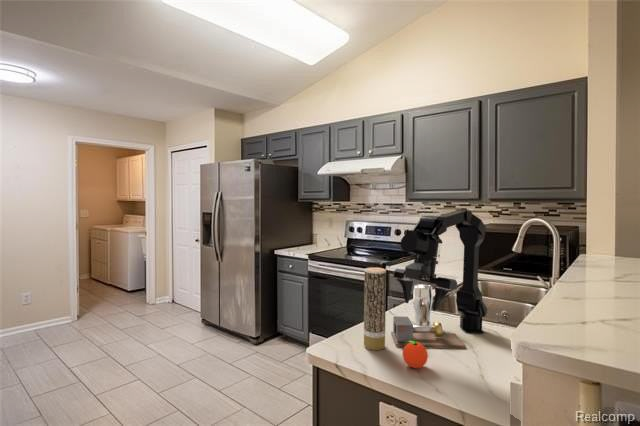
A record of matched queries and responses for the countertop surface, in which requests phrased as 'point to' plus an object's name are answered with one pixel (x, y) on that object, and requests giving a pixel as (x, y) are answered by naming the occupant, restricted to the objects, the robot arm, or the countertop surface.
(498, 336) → the countertop surface
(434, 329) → the shaft
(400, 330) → the bearing block
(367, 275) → the brown patterned cylinder
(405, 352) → the clementine
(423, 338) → the base board
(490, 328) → the countertop surface
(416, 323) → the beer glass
